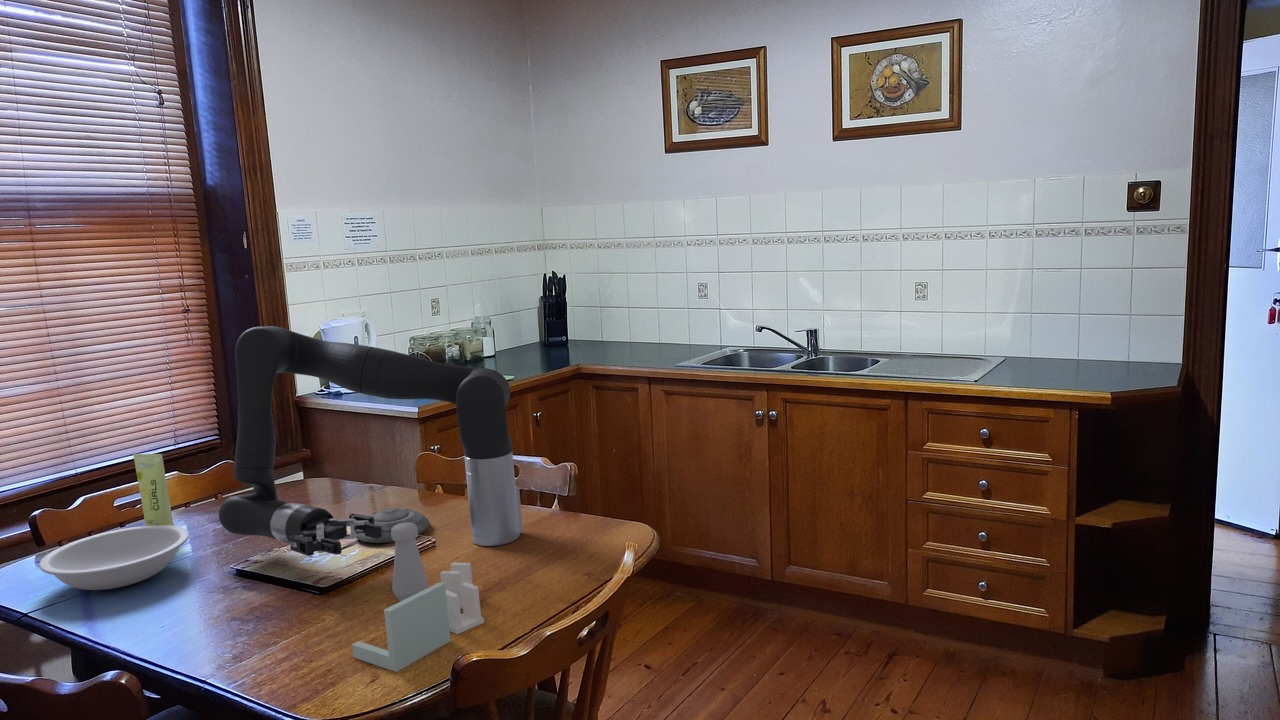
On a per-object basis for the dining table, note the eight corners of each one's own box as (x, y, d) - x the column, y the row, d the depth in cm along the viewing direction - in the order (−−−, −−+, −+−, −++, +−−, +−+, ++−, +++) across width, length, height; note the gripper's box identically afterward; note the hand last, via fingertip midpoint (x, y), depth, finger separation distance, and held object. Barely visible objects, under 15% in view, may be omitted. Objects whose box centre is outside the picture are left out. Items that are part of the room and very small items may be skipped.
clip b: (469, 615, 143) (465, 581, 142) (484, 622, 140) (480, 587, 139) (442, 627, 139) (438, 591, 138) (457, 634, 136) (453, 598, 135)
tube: (144, 552, 181) (129, 458, 178) (147, 544, 186) (133, 453, 183) (175, 547, 184) (162, 454, 180) (177, 539, 188) (164, 448, 185)
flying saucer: (342, 537, 184) (338, 511, 183) (408, 517, 194) (405, 493, 193) (375, 554, 173) (372, 527, 172) (444, 532, 183) (441, 506, 182)
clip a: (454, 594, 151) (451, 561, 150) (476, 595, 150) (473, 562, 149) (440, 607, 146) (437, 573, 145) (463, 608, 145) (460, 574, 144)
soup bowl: (134, 551, 182) (129, 520, 181) (222, 562, 173) (217, 530, 172) (13, 600, 161) (7, 565, 160) (107, 616, 151) (101, 579, 150)
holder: (408, 628, 140) (402, 573, 138) (450, 640, 134) (444, 583, 133) (353, 657, 131) (346, 599, 130) (396, 672, 126) (389, 611, 124)
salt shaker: (419, 607, 147) (411, 531, 145) (387, 606, 148) (379, 530, 146) (434, 592, 153) (427, 519, 151) (403, 591, 154) (395, 518, 152)
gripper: (264, 517, 158) (323, 532, 149) (332, 495, 169) (390, 507, 160) (269, 558, 159) (327, 575, 150) (336, 533, 171) (394, 547, 162)
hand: (360, 540), depth 155 cm, fingers open, 8 cm apart
